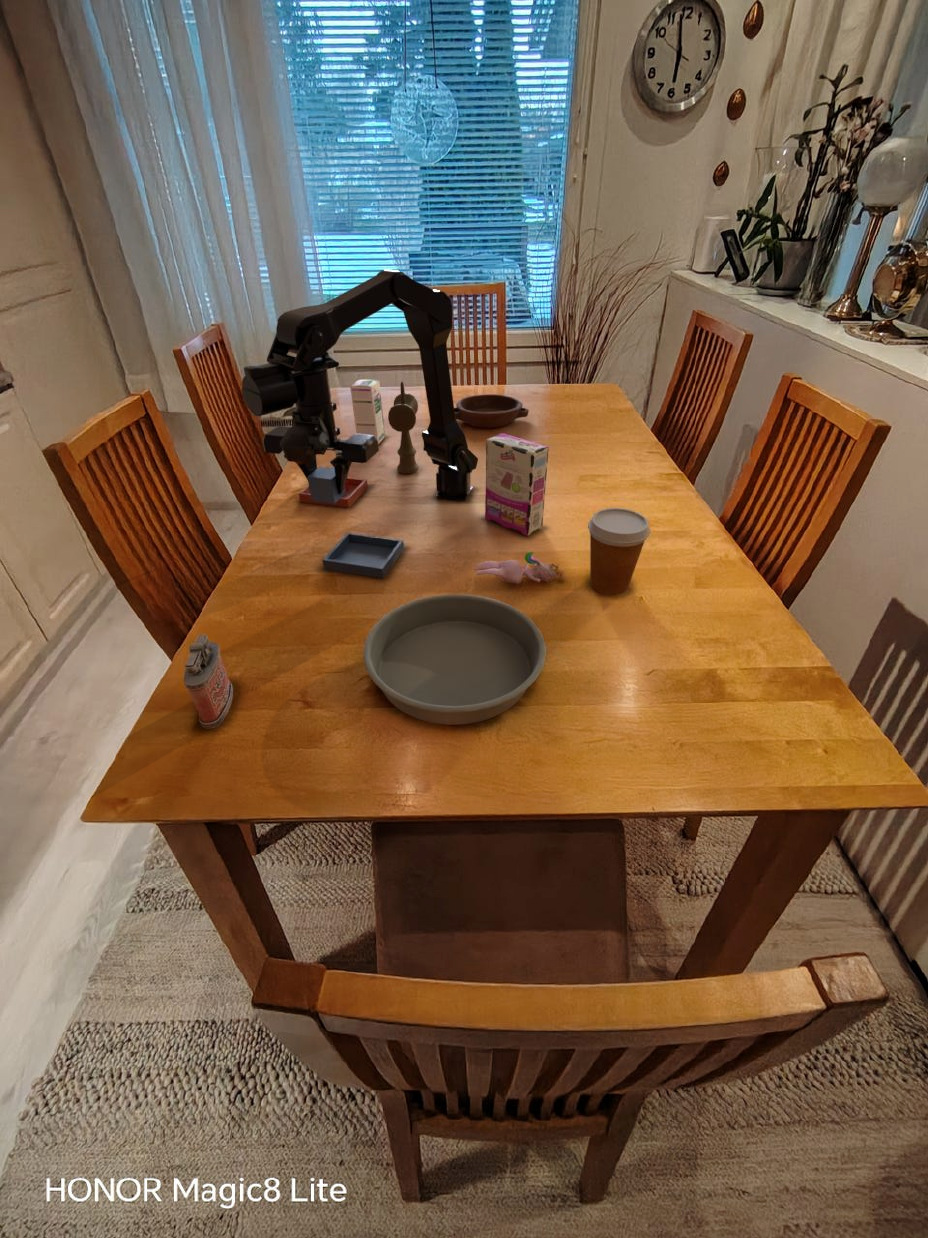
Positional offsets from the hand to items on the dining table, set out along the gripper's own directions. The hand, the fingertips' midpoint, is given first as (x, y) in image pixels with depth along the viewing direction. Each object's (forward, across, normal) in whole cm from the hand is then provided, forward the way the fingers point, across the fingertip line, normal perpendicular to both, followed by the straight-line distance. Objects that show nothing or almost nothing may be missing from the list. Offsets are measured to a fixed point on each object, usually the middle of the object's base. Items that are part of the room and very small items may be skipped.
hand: (328, 491), depth 103 cm
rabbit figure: (+11, +35, -3) cm, 37 cm away
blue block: (+1, 0, 0) cm, 1 cm away
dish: (+11, +10, +74) cm, 76 cm away
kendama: (+11, 0, +36) cm, 38 cm away
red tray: (+11, -10, +20) cm, 25 cm away
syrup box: (+11, -16, +52) cm, 55 cm away
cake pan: (+11, +31, -27) cm, 43 cm away
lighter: (+11, +4, -42) cm, 44 cm away
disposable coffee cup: (+11, +50, +1) cm, 51 cm away
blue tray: (+11, +7, -3) cm, 13 cm away
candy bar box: (+11, +30, +17) cm, 36 cm away
